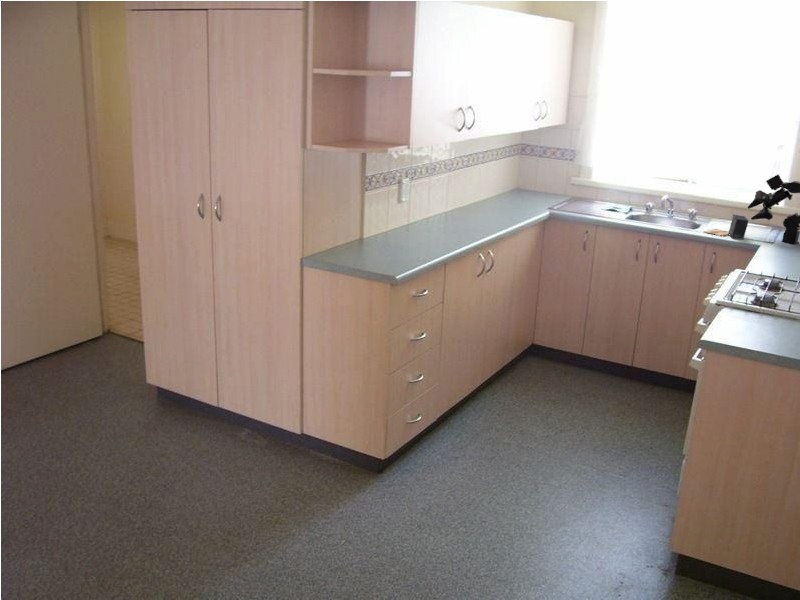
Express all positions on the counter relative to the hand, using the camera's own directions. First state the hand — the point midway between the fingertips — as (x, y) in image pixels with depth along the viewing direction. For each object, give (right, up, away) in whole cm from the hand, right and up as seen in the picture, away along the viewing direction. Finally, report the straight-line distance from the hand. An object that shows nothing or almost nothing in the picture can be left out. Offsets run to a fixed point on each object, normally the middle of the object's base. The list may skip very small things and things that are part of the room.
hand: (749, 213), depth 422 cm
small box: (-8, -13, -1) cm, 15 cm away
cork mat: (-14, -10, +6) cm, 18 cm away
